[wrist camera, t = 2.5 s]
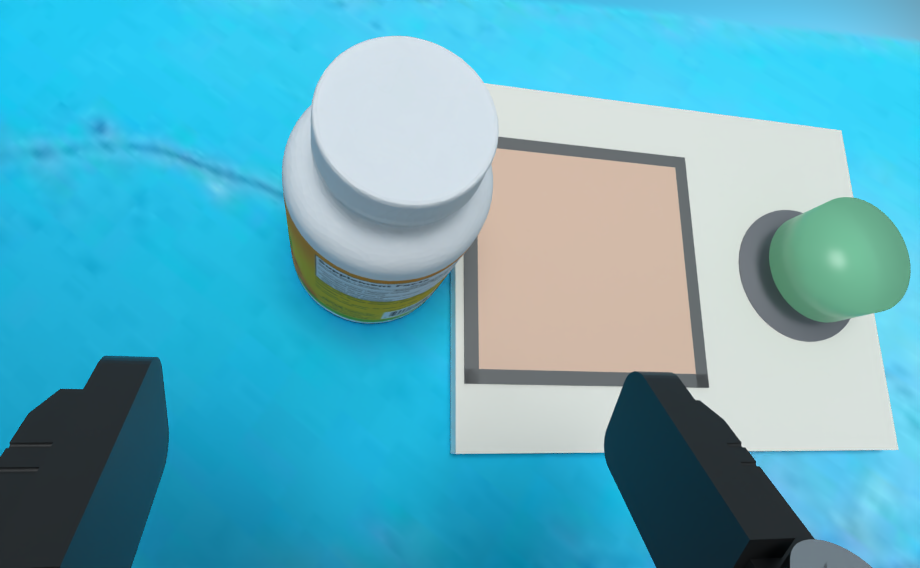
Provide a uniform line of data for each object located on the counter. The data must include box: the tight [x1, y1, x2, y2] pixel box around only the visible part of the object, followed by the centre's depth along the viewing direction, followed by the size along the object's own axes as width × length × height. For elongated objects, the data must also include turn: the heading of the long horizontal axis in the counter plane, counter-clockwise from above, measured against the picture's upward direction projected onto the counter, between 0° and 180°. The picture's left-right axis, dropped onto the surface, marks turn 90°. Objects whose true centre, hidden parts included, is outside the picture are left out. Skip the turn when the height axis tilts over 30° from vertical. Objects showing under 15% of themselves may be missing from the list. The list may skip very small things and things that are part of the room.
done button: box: [769, 197, 910, 323], centre depth 23 cm, size 4×4×2 cm
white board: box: [451, 83, 898, 454], centre depth 24 cm, size 18×14×1 cm
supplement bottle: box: [282, 36, 499, 323], centre depth 17 cm, size 5×5×10 cm
